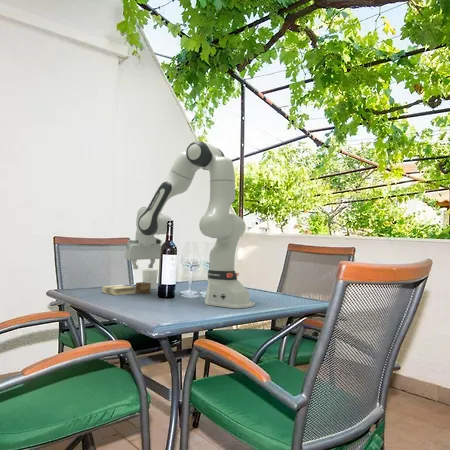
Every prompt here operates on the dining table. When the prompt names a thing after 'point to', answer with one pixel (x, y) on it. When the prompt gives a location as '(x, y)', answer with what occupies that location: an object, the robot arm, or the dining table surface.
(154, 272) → the white cup
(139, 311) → the dining table surface
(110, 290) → the birch plinth
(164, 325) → the dining table surface
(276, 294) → the dining table surface
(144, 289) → the walnut cube
